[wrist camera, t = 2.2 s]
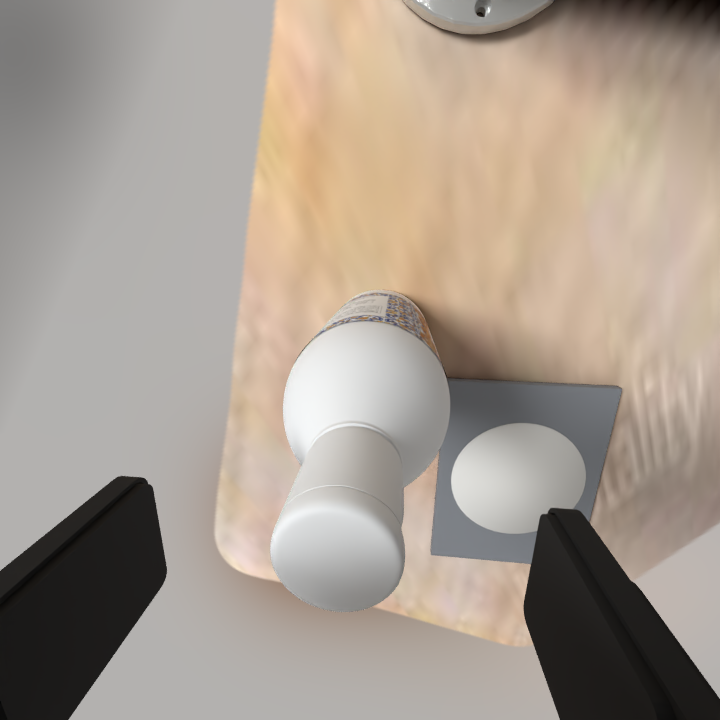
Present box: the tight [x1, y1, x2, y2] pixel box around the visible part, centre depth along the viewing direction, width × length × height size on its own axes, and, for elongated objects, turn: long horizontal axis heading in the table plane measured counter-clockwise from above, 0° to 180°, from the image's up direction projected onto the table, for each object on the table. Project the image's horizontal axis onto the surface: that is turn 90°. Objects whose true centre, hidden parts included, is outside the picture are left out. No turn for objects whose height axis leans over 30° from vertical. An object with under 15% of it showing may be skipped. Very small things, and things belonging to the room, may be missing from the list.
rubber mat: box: [431, 378, 622, 564], centre depth 29 cm, size 16×12×1 cm
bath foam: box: [270, 290, 450, 612], centre depth 17 cm, size 7×7×20 cm
